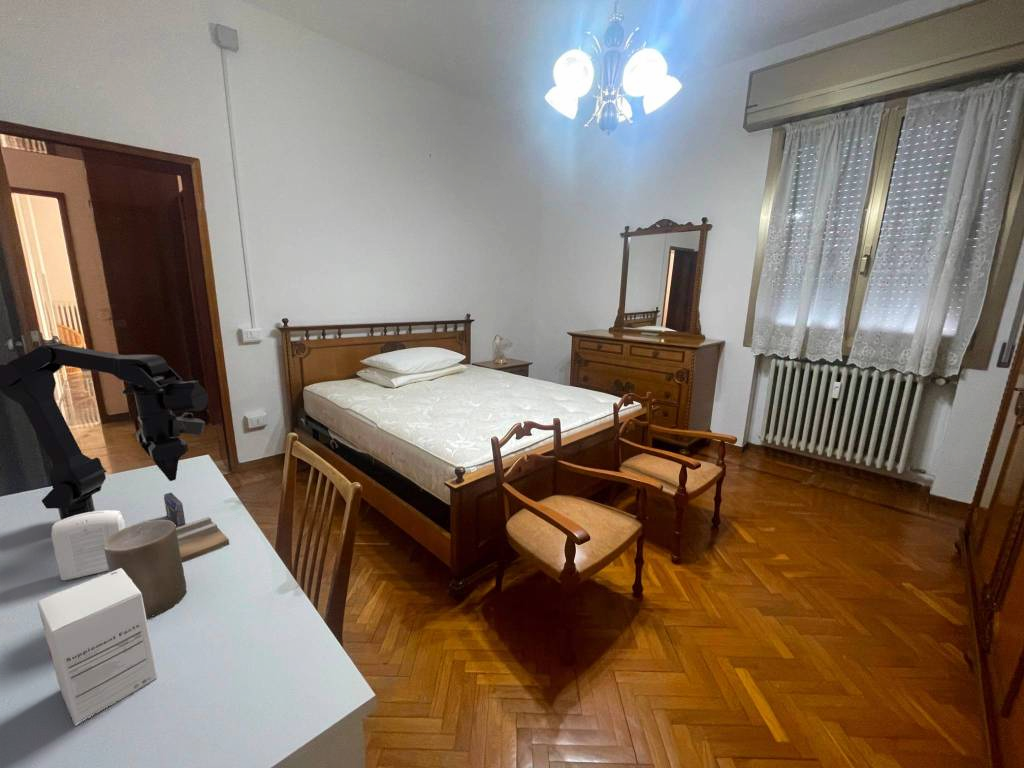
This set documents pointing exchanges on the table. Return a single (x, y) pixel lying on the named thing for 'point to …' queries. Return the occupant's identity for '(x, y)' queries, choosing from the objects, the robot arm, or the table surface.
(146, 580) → the pillar candle
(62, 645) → the supplement box
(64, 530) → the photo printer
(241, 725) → the table surface
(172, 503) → the mini dv tape
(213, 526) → the rail panel
